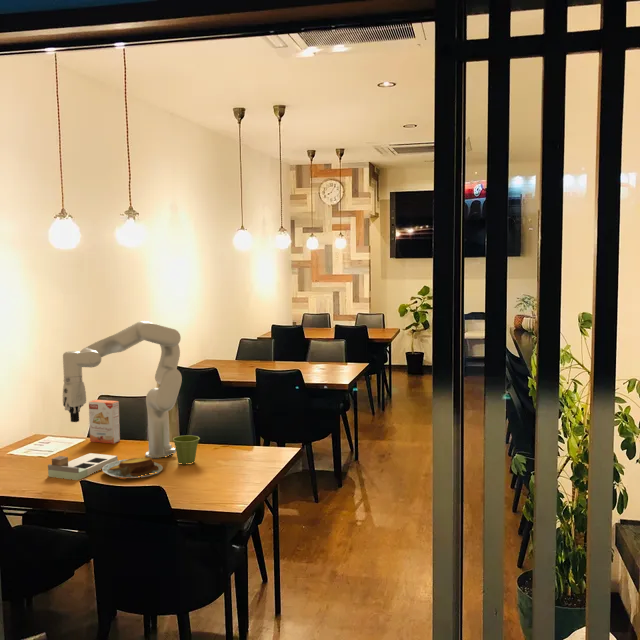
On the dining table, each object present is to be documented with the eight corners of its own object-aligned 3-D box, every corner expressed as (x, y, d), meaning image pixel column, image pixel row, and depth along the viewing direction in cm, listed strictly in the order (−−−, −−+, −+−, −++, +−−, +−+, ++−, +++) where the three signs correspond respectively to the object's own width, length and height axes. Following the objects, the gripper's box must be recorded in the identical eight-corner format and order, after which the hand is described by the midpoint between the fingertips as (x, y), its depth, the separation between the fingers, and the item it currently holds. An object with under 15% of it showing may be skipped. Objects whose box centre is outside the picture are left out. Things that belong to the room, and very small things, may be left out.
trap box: (117, 462, 298) (117, 451, 298) (77, 480, 273) (77, 468, 273) (90, 459, 303) (89, 448, 303) (48, 476, 278) (47, 465, 278)
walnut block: (68, 467, 281) (67, 456, 281) (60, 470, 277) (60, 459, 277) (59, 466, 283) (59, 455, 282) (52, 469, 279) (51, 458, 278)
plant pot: (197, 466, 291) (197, 441, 290) (170, 467, 291) (170, 441, 290) (202, 459, 303) (201, 434, 302) (176, 459, 303) (175, 435, 302)
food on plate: (132, 461, 300) (132, 447, 300) (175, 469, 288) (174, 454, 288) (88, 477, 278) (88, 462, 277) (133, 486, 266) (132, 470, 266)
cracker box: (89, 442, 334) (88, 401, 332) (96, 439, 339) (95, 399, 338) (113, 444, 330) (112, 402, 328) (120, 441, 335) (119, 400, 334)
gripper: (68, 383, 278) (70, 426, 279) (91, 377, 292) (93, 418, 293) (53, 382, 280) (55, 425, 282) (77, 376, 294) (79, 417, 296)
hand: (74, 421), depth 287 cm, fingers closed
